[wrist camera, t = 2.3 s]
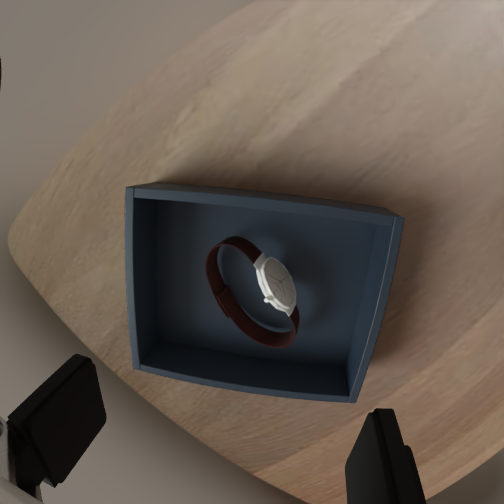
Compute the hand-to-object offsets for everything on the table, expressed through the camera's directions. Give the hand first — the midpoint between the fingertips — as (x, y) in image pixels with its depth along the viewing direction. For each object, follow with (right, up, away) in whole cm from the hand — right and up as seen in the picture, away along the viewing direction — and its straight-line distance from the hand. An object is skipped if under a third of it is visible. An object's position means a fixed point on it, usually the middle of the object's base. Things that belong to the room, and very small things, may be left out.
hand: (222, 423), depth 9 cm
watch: (+1, +3, +12) cm, 12 cm away
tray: (+1, +3, +12) cm, 13 cm away
